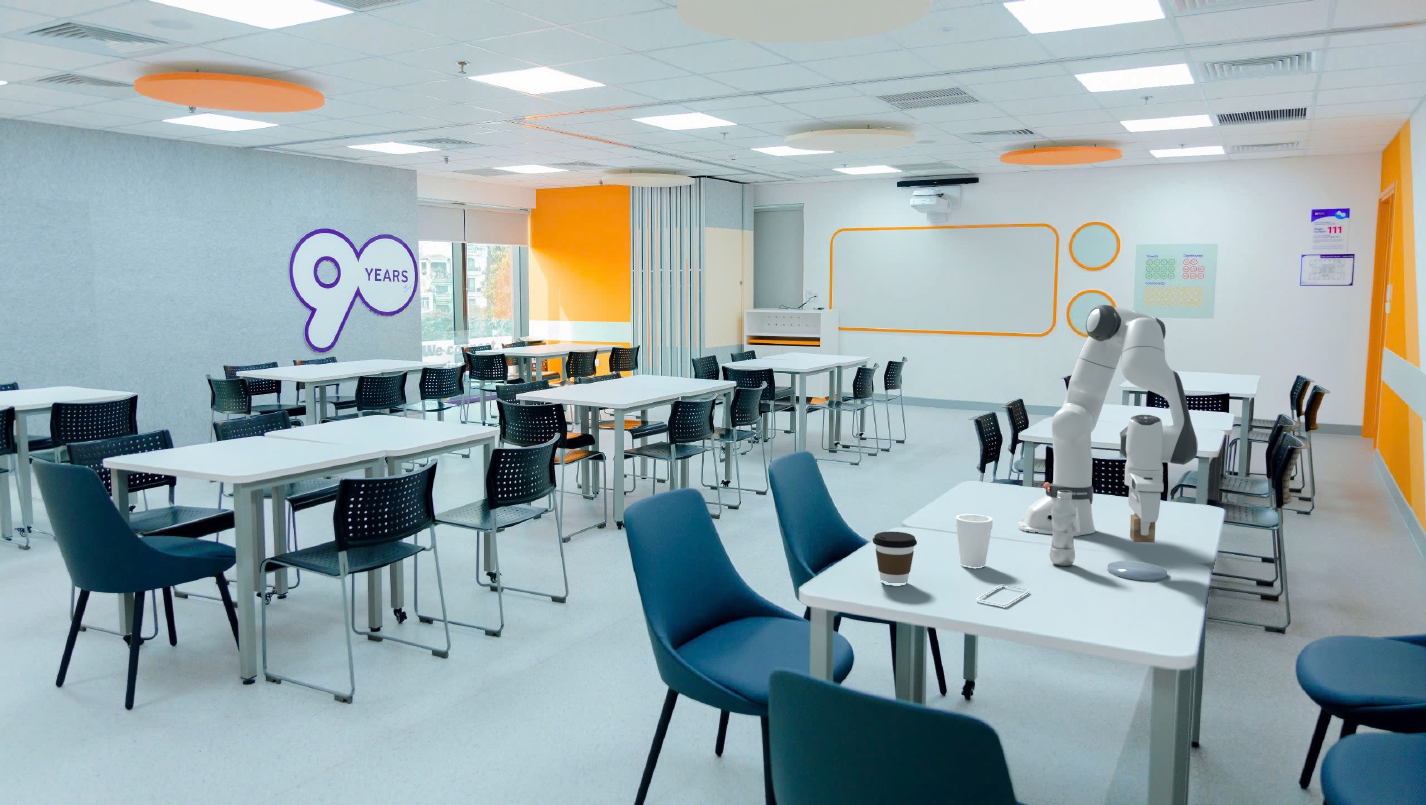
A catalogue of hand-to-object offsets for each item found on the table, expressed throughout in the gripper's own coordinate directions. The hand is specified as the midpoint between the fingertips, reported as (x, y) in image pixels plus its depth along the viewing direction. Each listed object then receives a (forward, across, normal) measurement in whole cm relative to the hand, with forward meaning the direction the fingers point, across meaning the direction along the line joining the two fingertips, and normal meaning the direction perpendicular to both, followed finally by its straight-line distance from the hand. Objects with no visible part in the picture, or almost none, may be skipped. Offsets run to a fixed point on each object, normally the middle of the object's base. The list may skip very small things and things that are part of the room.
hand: (1141, 531), depth 239 cm
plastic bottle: (+11, -3, -19) cm, 22 cm away
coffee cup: (+11, +24, -61) cm, 67 cm away
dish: (+11, 0, -1) cm, 11 cm away
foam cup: (+11, +4, -42) cm, 43 cm away
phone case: (+11, +30, -35) cm, 47 cm away
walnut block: (+2, 0, 0) cm, 2 cm away
